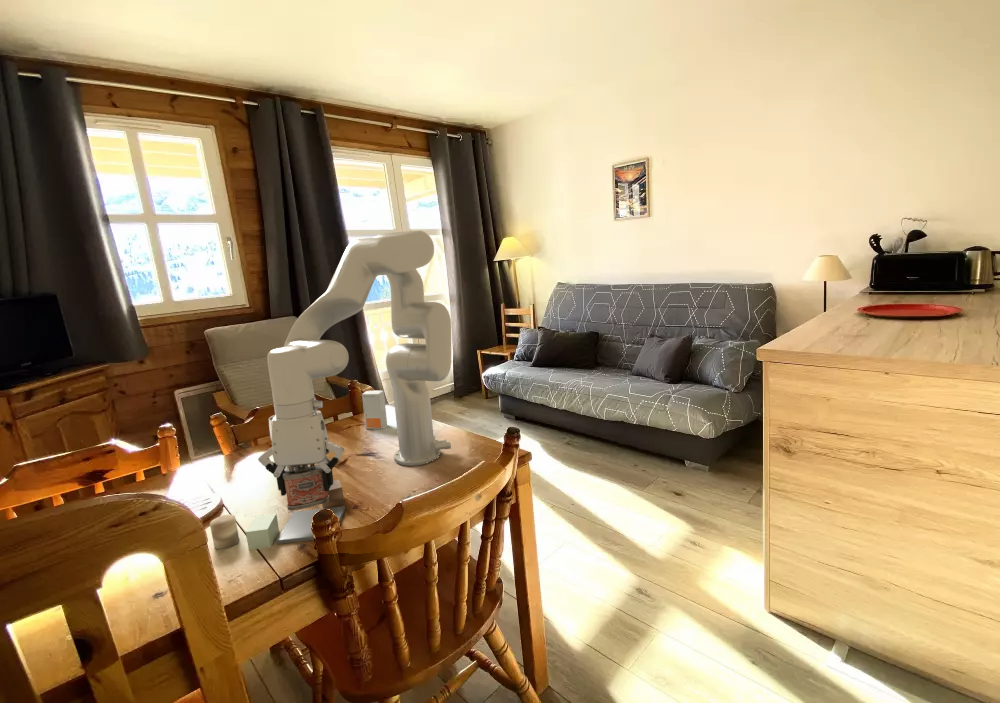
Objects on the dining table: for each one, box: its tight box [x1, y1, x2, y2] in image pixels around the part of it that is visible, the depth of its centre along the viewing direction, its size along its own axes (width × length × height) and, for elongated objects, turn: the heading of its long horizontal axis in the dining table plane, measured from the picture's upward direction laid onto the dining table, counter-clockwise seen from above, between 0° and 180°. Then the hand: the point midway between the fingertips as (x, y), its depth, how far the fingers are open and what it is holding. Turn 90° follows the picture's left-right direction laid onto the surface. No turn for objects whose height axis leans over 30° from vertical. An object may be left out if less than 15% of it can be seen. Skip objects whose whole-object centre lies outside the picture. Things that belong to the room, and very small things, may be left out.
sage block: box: [245, 513, 280, 551], centre depth 97 cm, size 4×6×4 cm
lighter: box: [283, 463, 329, 512], centre depth 99 cm, size 8×3×10 cm, turn 114°
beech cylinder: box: [209, 514, 240, 551], centre depth 97 cm, size 4×4×5 cm
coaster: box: [275, 505, 346, 545], centre depth 102 cm, size 11×11×1 cm
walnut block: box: [321, 479, 345, 509], centre depth 110 cm, size 4×4×4 cm
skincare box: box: [361, 389, 388, 430], centre depth 158 cm, size 6×4×12 cm
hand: (306, 490), depth 100 cm, fingers closed on lighter, 8 cm apart
